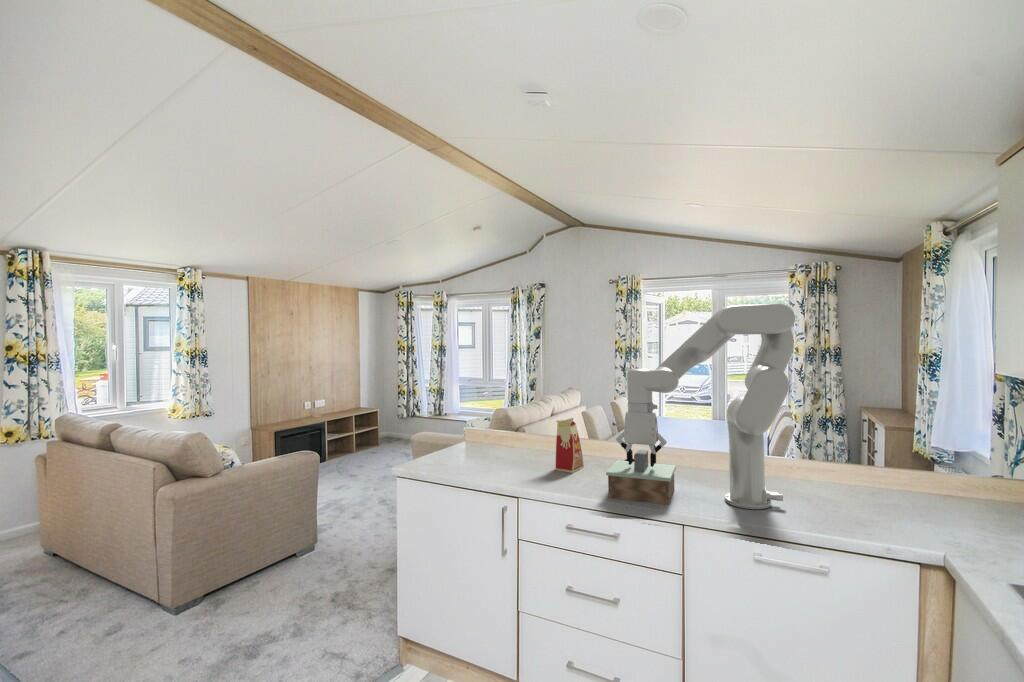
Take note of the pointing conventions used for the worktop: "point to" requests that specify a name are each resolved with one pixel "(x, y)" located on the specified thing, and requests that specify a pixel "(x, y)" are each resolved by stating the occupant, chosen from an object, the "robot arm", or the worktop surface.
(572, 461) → the milk carton
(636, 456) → the lid
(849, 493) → the worktop surface
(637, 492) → the box
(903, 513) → the worktop surface
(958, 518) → the worktop surface
